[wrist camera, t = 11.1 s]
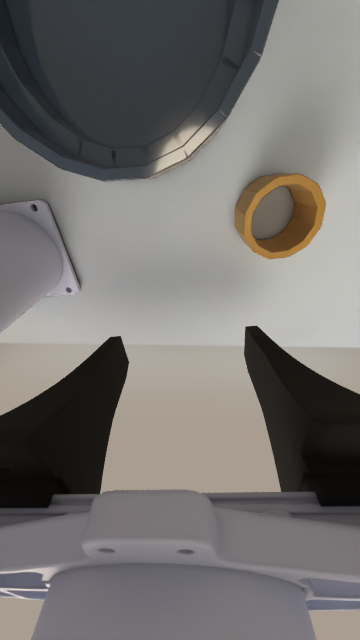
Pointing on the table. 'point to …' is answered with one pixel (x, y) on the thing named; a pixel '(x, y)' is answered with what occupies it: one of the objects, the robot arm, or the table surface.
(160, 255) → the table surface
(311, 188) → the ring
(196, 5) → the bowl
